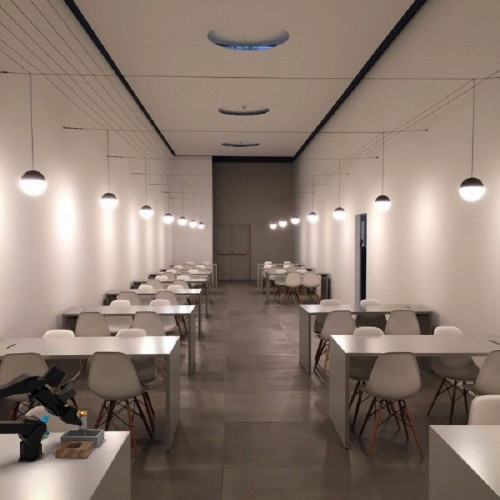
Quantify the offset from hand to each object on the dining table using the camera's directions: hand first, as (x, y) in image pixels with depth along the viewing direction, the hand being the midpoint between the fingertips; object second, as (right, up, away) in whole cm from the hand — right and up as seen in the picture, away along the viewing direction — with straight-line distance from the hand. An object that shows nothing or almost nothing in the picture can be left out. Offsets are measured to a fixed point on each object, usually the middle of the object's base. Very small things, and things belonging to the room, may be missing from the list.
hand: (76, 421), depth 196 cm
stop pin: (+2, -8, +2) cm, 8 cm away
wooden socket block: (+2, -9, -8) cm, 12 cm away
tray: (+2, -9, +2) cm, 9 cm away
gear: (-18, -9, +10) cm, 23 cm away
